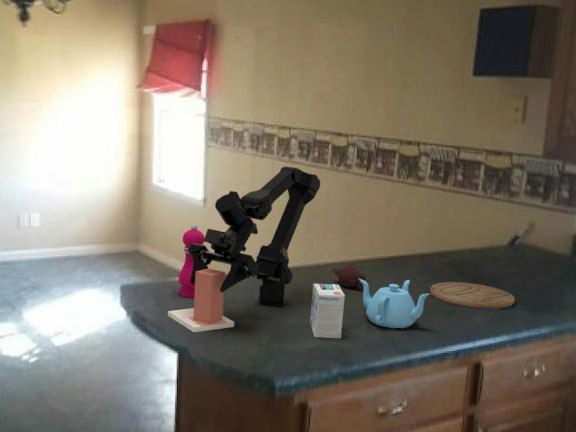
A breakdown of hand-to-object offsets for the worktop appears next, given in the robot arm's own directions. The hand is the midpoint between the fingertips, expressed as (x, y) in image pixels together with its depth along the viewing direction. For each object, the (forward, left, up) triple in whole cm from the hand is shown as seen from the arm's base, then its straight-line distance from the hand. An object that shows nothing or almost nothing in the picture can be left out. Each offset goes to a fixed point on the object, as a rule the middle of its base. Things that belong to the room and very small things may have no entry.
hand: (205, 287), depth 175 cm
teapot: (-48, -15, -10) cm, 51 cm away
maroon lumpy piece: (-38, -49, -10) cm, 63 cm away
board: (+1, -4, -10) cm, 11 cm away
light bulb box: (-30, -3, -10) cm, 31 cm away
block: (-1, -1, -8) cm, 8 cm away
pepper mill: (+7, -27, -10) cm, 30 cm away
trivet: (-76, -46, -10) cm, 89 cm away
